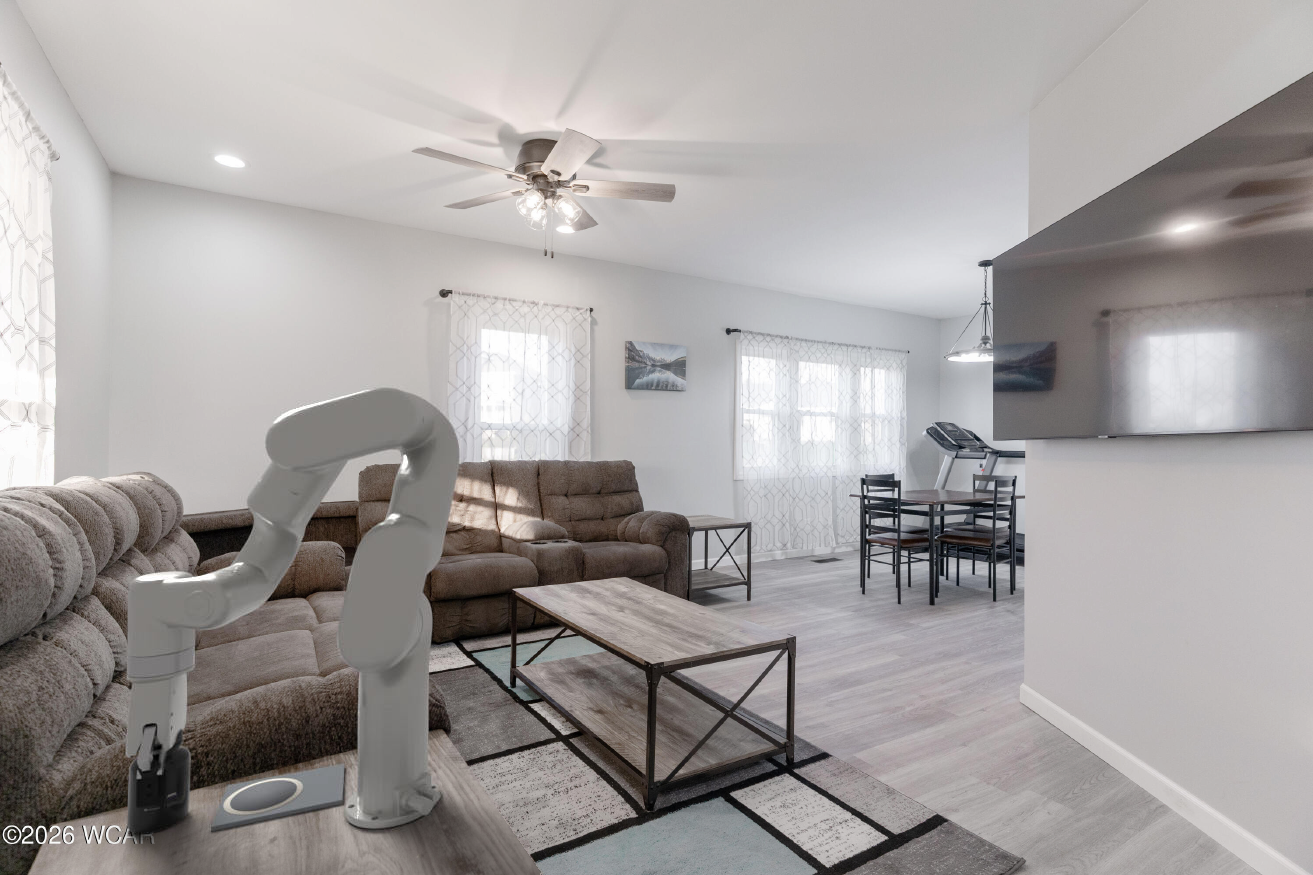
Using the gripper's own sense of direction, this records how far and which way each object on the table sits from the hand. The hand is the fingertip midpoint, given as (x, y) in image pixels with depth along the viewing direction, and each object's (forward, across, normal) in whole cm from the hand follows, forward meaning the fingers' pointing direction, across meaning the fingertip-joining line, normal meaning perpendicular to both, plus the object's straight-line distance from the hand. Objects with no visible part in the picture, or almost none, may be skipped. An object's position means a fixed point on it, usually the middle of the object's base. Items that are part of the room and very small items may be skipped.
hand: (159, 789), depth 89 cm
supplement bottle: (+4, 0, 0) cm, 4 cm away
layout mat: (+4, 0, +15) cm, 16 cm away
